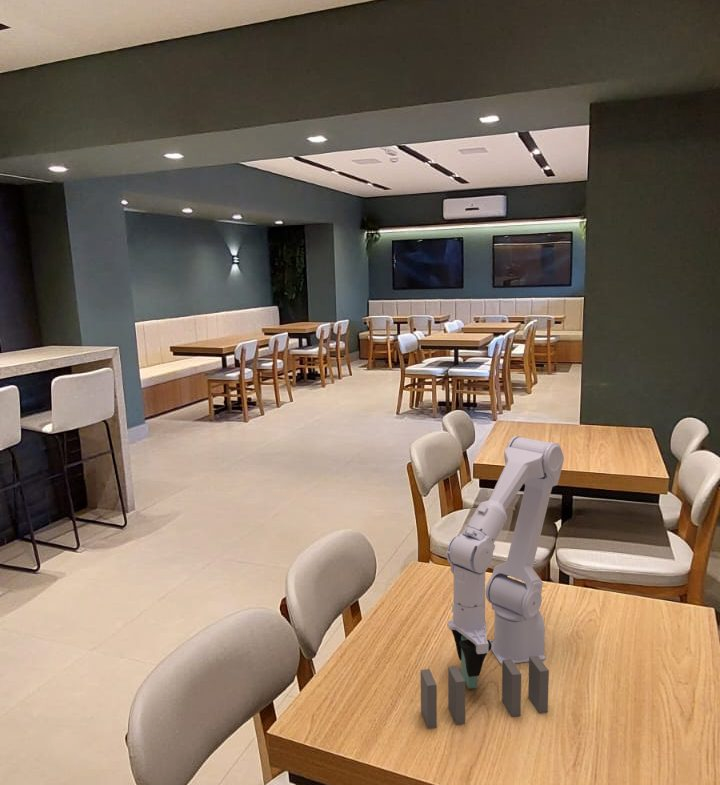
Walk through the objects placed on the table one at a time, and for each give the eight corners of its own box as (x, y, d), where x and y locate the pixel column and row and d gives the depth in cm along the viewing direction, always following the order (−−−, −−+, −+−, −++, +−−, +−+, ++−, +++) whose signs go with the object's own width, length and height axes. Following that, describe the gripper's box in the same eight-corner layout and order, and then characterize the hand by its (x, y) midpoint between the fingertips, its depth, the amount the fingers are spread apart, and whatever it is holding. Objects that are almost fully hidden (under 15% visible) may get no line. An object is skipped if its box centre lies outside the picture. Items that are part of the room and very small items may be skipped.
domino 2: (456, 706, 109) (457, 665, 107) (465, 723, 104) (465, 681, 103) (448, 707, 108) (448, 666, 107) (456, 724, 104) (456, 682, 103)
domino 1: (429, 710, 108) (429, 668, 107) (436, 727, 104) (436, 684, 102) (420, 711, 108) (420, 670, 106) (427, 728, 103) (427, 685, 102)
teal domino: (469, 673, 117) (469, 634, 116) (477, 687, 113) (477, 648, 112) (461, 674, 117) (461, 635, 116) (468, 688, 113) (468, 649, 111)
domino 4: (536, 695, 111) (537, 655, 110) (547, 712, 107) (548, 670, 105) (528, 697, 111) (529, 656, 109) (539, 713, 106) (540, 671, 105)
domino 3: (510, 699, 110) (511, 658, 109) (520, 715, 106) (521, 673, 105) (501, 700, 110) (502, 659, 109) (511, 717, 106) (512, 675, 104)
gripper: (437, 583, 119) (437, 647, 121) (460, 622, 104) (460, 694, 107) (471, 579, 120) (471, 643, 122) (500, 618, 106) (499, 689, 108)
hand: (469, 667), depth 114 cm, fingers closed on teal domino, 4 cm apart
